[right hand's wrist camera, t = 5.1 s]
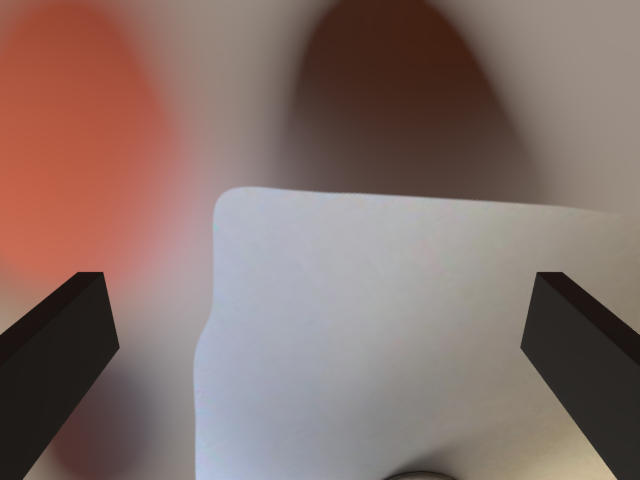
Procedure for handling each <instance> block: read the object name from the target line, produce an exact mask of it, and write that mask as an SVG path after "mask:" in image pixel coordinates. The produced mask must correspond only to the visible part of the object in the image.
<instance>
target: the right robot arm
mask: <svg viewBox="0 0 640 480" xmlns="http://www.w3.org/2000/svg"><path fill="white" fill-rule="evenodd" d="M119 348H120V347H119V342H118V338H117V333H116V329H115V324H114V320H113V315H112V310H111V306H110V301H109V297H108V292H107V288H106V283H105V278H104V274H103V272H77V273H76V274H75V275H74V276H72V277H71V278H70V279H69V280H67V281H66V282H65V283H64V284H62V285H61V286H60V287H59V288H58V289H56V290H55V291H54V292H53V293H51V294H50V295H49V296H48V297H46V298H45V299H44V300H43V301H42V302H40V303H39V304H38V305H37V306H35V307H34V308H33V309H32V310H31V311H29V312H28V313H27V314H26V315H24V316H23V317H22V318H21V319H19V320H18V321H17V322H16V323H14V324H13V325H12V326H11V327H10V328H8V329H7V330H6V331H5V332H3V333H2V334H1V335H0V480H23V478H24V477H25V476H26V474H27V473H28V472H29V470H30V469H31V468H32V466H33V465H34V463H35V462H36V461H37V459H38V458H39V457H40V455H41V454H42V453H43V451H44V450H45V449H46V447H47V446H48V444H49V443H50V442H51V440H52V439H53V438H54V436H55V435H56V433H57V432H58V431H59V429H60V428H61V427H62V425H63V424H64V423H65V421H66V420H67V419H68V417H69V416H70V414H71V413H72V412H73V410H74V409H75V408H76V406H77V405H78V404H79V402H80V401H81V400H82V398H83V397H84V396H85V394H86V393H87V391H88V390H89V389H90V387H91V386H92V385H93V383H94V382H95V381H96V379H97V378H98V376H99V375H100V374H101V372H102V371H103V370H104V368H105V367H106V366H107V364H108V363H109V361H110V360H111V359H112V357H113V356H114V355H115V353H116V352H117V351H118V349H119ZM520 348H521V349H522V351H523V352H524V353H525V355H526V356H527V357H528V359H529V360H530V362H531V363H532V364H533V366H534V367H535V368H536V370H537V371H538V372H539V374H540V375H541V376H542V378H543V379H544V381H545V382H546V383H547V385H548V386H549V387H550V389H551V390H552V391H553V393H554V394H555V396H556V397H557V398H558V400H559V401H560V402H561V404H562V405H563V406H564V408H565V409H566V410H567V412H568V413H569V415H570V416H571V417H572V419H573V420H574V421H575V423H576V424H577V425H578V427H579V428H580V429H581V431H582V432H583V434H584V435H585V436H586V438H587V439H588V440H589V442H590V443H591V444H592V446H593V447H594V449H595V450H596V451H597V453H598V454H599V455H600V457H601V458H602V459H603V461H604V462H605V463H606V465H607V466H608V468H609V469H610V470H611V472H612V473H613V474H614V476H615V477H616V478H617V480H640V335H639V334H638V333H637V332H635V331H634V330H633V329H632V328H630V327H629V326H628V325H627V324H626V323H624V322H623V321H622V320H621V319H619V318H618V317H617V316H616V315H614V314H613V313H612V312H611V311H610V310H608V309H607V308H606V307H605V306H603V305H602V304H601V303H600V302H598V301H597V300H596V299H595V298H594V297H592V296H591V295H590V294H589V293H587V292H586V291H585V290H584V289H582V288H581V287H580V286H579V285H578V284H576V283H575V282H574V281H573V280H571V279H570V278H569V277H568V276H566V275H565V274H564V273H563V272H537V274H536V278H535V283H534V287H533V292H532V297H531V301H530V306H529V310H528V315H527V319H526V324H525V329H524V333H523V338H522V342H521V347H520ZM388 480H453V479H451V478H449V477H447V476H444V475H440V474H436V473H429V472H414V473H407V474H402V475H398V476H395V477H393V478H390V479H388Z"/></svg>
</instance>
